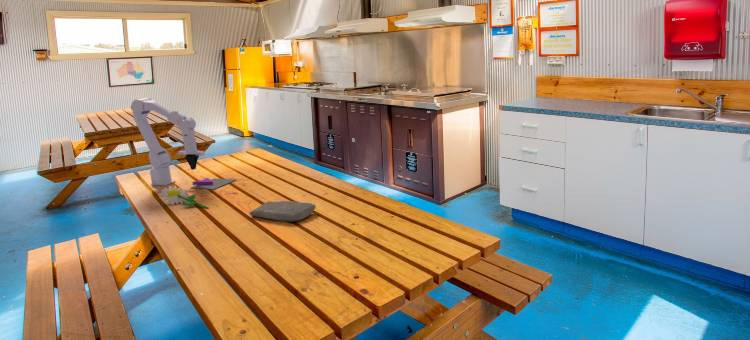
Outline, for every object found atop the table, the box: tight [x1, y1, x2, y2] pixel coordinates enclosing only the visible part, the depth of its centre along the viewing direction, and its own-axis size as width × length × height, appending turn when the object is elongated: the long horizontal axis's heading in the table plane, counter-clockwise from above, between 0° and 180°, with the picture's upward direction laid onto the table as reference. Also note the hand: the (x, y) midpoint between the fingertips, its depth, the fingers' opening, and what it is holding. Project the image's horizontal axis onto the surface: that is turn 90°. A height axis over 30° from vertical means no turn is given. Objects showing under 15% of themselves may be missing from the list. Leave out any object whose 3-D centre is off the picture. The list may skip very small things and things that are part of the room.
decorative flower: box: [158, 185, 210, 210], centre depth 228 cm, size 13×5×30 cm
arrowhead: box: [192, 177, 213, 186], centre depth 262 cm, size 10×2×10 cm
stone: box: [249, 200, 317, 223], centre depth 204 cm, size 26×4×15 cm
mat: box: [190, 178, 238, 191], centre depth 260 cm, size 14×18×1 cm
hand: (193, 169), depth 263 cm, fingers closed
